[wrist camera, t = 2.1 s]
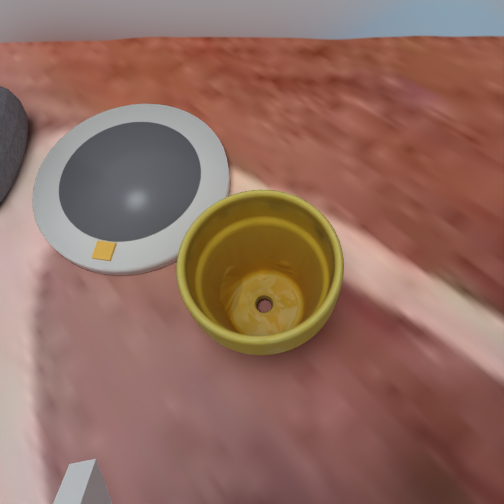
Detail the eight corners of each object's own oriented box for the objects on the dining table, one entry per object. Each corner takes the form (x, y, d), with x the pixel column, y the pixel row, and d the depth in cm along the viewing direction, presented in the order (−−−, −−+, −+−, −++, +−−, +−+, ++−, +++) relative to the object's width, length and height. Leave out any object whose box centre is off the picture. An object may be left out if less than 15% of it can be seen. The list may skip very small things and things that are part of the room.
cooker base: (10, 261, 39) (-2, 252, 37) (78, 107, 46) (71, 94, 44) (207, 289, 36) (204, 281, 35) (245, 122, 44) (244, 109, 42)
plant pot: (176, 300, 36) (142, 248, 27) (274, 230, 38) (272, 161, 29) (253, 404, 32) (242, 382, 23) (357, 319, 34) (382, 270, 26)
